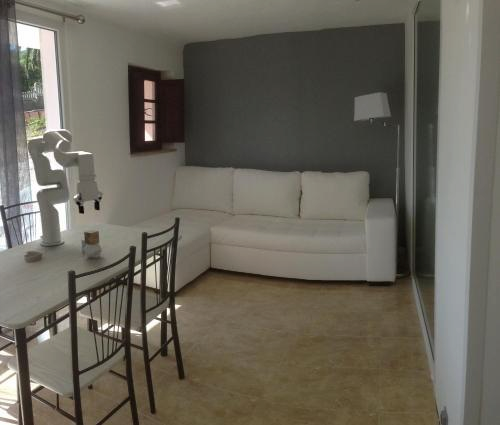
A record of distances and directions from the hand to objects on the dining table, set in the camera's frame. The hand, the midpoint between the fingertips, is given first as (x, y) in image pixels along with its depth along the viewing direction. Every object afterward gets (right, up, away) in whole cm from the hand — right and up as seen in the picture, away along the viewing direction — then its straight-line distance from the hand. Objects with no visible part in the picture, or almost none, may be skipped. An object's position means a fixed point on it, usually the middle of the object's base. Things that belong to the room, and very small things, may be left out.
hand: (89, 211), depth 242 cm
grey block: (-6, -21, +18) cm, 28 cm away
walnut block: (0, -16, +3) cm, 16 cm away
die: (0, -24, +5) cm, 24 cm away
